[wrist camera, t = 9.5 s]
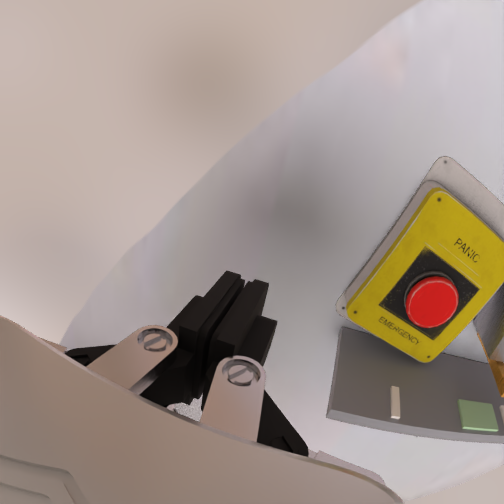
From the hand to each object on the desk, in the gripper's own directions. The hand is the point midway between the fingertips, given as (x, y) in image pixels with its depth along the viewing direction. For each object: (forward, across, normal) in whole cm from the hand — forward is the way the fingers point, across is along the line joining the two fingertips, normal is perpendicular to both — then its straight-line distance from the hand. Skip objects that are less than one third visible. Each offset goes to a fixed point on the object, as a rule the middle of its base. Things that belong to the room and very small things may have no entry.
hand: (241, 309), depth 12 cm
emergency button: (+13, -11, 0) cm, 17 cm away
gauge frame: (+12, -16, +1) cm, 20 cm away
